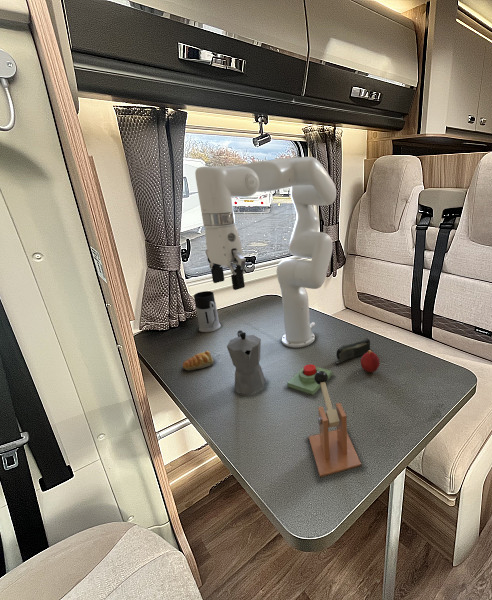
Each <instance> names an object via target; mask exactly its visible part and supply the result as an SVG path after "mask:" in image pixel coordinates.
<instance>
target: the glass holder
mask: <svg viewBox="0 0 492 600" xmlns="http://www.w3.org/2000/svg"><path fill="white" fill-rule="evenodd" d="M193 299H194V303H195V304H194V305H195V306H194V307H195V311H196V316H197V321H198V331H199V332H201V333H211V332H214V331H217V330H219V329H220V328H221V326H222V325H221V323H220V320H219V314H218V309H217V304H216V300H215V294H214V292H213V291H211V290H204V291H199V292H195V294H193Z"/></svg>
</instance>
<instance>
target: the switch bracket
mask: <svg viewBox="0 0 492 600" xmlns="http://www.w3.org/2000/svg"><path fill="white" fill-rule="evenodd" d="M343 407H344V406H343V405H342V403H341V402H337V403H335V409H336V410H337V414H338V417H339V425H338V426H336V429H333V430H329V428H328V419H327V417H326V411H325V409H324V407H323V406H318V407H317V412H318V418H317V422H318V427H319V428H318V429H319V433H317V434H313V435H309V436H308V440H309V444H310V447H311V451H312V454H313V458H314V461H315V465H316V468H317V473H318V475H319V478H320V477H324V476H328V475H333V474H336V473H339V472H342V471H346V470H350V469H354V468H357V467H360V466H361V467H362V463H361V460H360V458H359V456H358V453H357V452H356V449H355V447H354V444H353V443H352V440H351V437H350V435H349V433H348V427H347V425H348V424H347V423H348V420H347V412H346V411H345V409H344V408H343Z"/></svg>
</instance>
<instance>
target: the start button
mask: <svg viewBox="0 0 492 600" xmlns="http://www.w3.org/2000/svg"><path fill="white" fill-rule="evenodd" d="M308 364H309V365H307V364H305V365H304V366H303V367H304V374H305V375H307V376H312V375H314V374H315V373H316V367H315V366H316V365H315V364H310V363H308Z"/></svg>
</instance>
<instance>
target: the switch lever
mask: <svg viewBox="0 0 492 600" xmlns="http://www.w3.org/2000/svg"><path fill="white" fill-rule="evenodd" d="M314 380H315V382H316V383H317V384H319V385H320V386H321V387H320V389H321V393H322V397H323V400H324V403H325V408H326V411H325V414H326V417H327V419H328V429H331V428H335V427H337V426H338V425H339V417H338V414H337V410H336V408H333V404H332V401H331V398H330V394H329V390H328V388H327V384H326V383H327V382H328V380H329V379H328V375H327V373H326V372H324V371H318V372H317V373H316V374H315V376H314Z"/></svg>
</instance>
